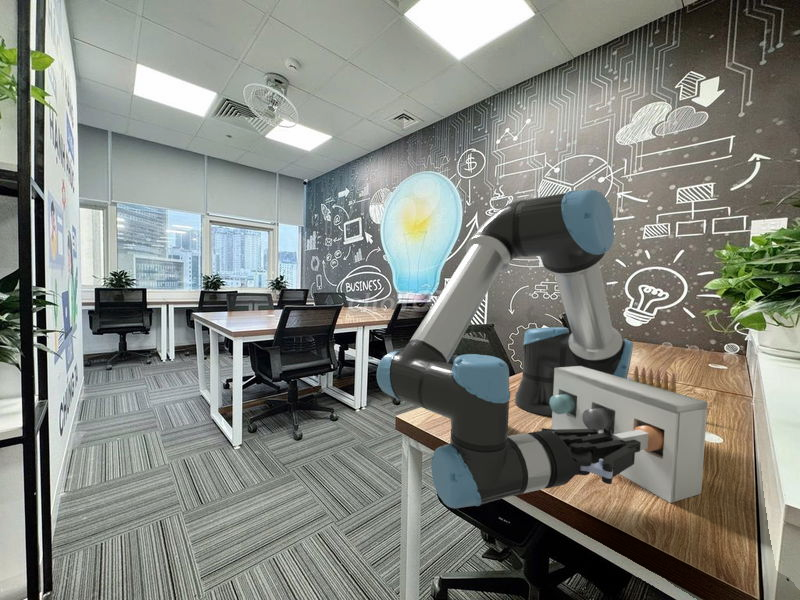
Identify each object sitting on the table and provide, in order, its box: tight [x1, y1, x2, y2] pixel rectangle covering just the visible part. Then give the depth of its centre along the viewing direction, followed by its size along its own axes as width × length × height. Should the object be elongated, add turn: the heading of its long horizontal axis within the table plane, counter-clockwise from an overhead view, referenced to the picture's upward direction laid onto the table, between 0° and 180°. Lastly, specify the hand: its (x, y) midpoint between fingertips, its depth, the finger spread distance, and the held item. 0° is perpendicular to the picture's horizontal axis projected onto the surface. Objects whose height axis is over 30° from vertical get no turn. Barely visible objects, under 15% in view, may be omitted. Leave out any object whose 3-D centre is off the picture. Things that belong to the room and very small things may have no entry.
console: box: [551, 366, 708, 504], centre depth 65 cm, size 25×8×16 cm, turn 20°
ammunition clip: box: [632, 365, 677, 393], centre depth 94 cm, size 11×2×12 cm, turn 36°
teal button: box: [550, 394, 575, 414], centre depth 72 cm, size 4×3×4 cm
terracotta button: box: [634, 424, 665, 451], centre depth 56 cm, size 4×3×4 cm
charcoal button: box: [582, 408, 612, 431], centre depth 64 cm, size 4×3×4 cm
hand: (643, 439), depth 56 cm, fingers closed
